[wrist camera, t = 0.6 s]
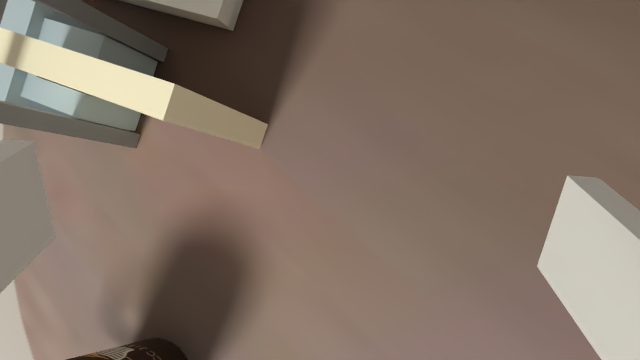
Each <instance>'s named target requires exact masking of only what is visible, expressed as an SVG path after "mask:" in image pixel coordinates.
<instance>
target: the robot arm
mask: <svg viewBox="0 0 640 360" xmlns="http://www.w3.org/2000/svg"><path fill="white" fill-rule="evenodd" d="M55 237H56V235H55V230H54V226H53V222H52V217H51V213H50V208H49V204H48V200H47V195H46V191H45V186H44V182H43V178H42V173H41V169H40V164H39V160H38V155H37V151H36V147H35V142H34V141H18V140H1V141H0V293H1V292H2V291H3V290H4V289H5V288H6V287H7V286H8V285H9V284H10V283H11V282H12V281H13V280H14V279H15V278H16V277H17V276H18V275H19V274H20V273H21V272H22V271H23V270H24V269H25V268H26V267H27V266H28V265H29V264H30V263H31V262H32V261H33V260H34V259H35V258H36V257H37V256H38V255H39V254H40V253H41V252H42V251H43V250H44V248H45V247H46V246H47V245H48V244H49V243H50V242H51V241H52V240H53V239H54V238H55ZM537 267H538V268H539V270H540V271H541V273H542V274H543V276H544V277H545V279H546V280H547V281H548V283H549V284H550V286H551V287H552V289H553V290H554V292H555V293H556V294H557V296H558V297H559V299H560V300H561V302H562V303H563V305H564V306H565V308H566V309H567V310H568V312H569V313H570V315H571V316H572V318H573V319H574V321H575V322H576V324H577V325H578V326H579V328H580V329H581V331H582V332H583V334H584V335H585V337H586V338H587V339H588V341H589V342H590V344H591V345H592V347H593V348H594V350H595V351H596V353H597V354H598V355H599V357H600V358H601V360H640V211H639V210H638V209H637V208H636V207H634V206H633V205H632V204H631V203H629V202H628V201H627V200H626V199H624V198H623V197H622V196H620V195H619V194H618V193H617V192H615V191H614V190H613V189H612V188H610V187H609V186H608V185H607V184H605V183H604V182H603V181H602V180H600V179H599V178H596V177H581V176H567V178H566V181H565V184H564V187H563V190H562V193H561V196H560V199H559V202H558V205H557V208H556V211H555V214H554V217H553V220H552V223H551V226H550V229H549V232H548V235H547V238H546V241H545V244H544V247H543V250H542V253H541V256H540V259H539V262H538V265H537Z"/></svg>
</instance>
